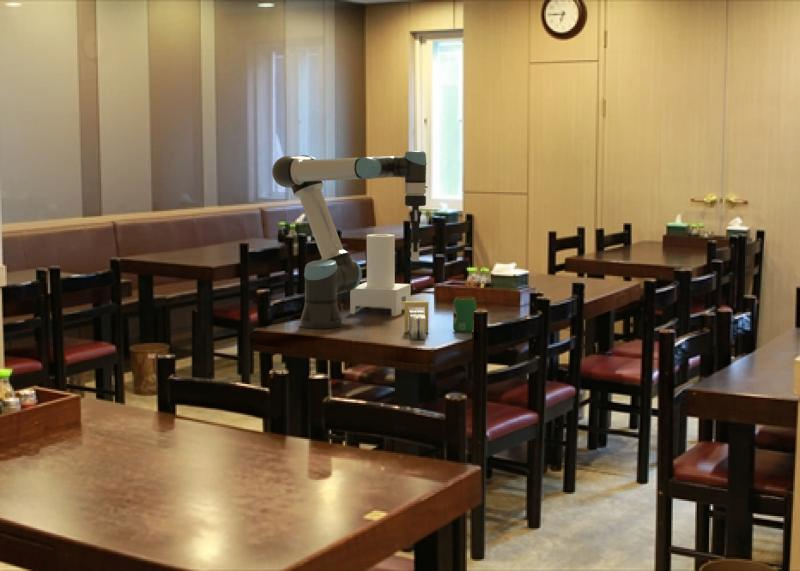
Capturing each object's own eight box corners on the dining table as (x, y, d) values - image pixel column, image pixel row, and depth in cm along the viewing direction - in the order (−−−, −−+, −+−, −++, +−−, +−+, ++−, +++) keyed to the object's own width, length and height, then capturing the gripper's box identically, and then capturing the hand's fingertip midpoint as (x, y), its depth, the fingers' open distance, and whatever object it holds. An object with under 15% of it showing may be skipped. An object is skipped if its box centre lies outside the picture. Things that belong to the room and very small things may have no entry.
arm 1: (409, 330, 404) (409, 310, 403) (415, 330, 404) (415, 310, 403) (411, 339, 386) (411, 319, 385) (418, 339, 386) (418, 319, 385)
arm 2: (416, 330, 404) (416, 310, 403) (423, 330, 404) (423, 310, 403) (418, 339, 386) (418, 319, 385) (425, 339, 386) (425, 319, 385)
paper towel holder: (350, 313, 444) (349, 236, 440) (365, 306, 462) (365, 232, 458) (396, 316, 438) (396, 237, 434) (410, 309, 456) (410, 233, 452)
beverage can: (451, 329, 407) (452, 296, 405) (474, 329, 407) (474, 296, 406) (454, 333, 399) (454, 299, 397) (477, 333, 399) (477, 299, 398)
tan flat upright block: (404, 331, 402) (404, 301, 401) (427, 330, 403) (428, 301, 401) (404, 332, 400) (404, 302, 398) (428, 332, 400) (428, 302, 399)
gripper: (426, 195, 399) (426, 262, 402) (425, 193, 412) (424, 258, 415) (405, 195, 399) (405, 262, 402) (404, 193, 412) (404, 258, 415)
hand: (415, 260), depth 408 cm, fingers closed
